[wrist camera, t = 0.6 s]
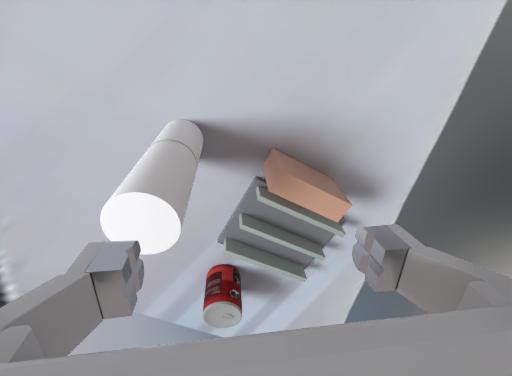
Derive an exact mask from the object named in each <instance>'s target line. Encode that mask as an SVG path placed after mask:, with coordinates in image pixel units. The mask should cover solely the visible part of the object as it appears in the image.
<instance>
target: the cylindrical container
mask: <svg viewBox="0 0 512 376" xmlns="http://www.w3.org/2000/svg"><path fill="white" fill-rule="evenodd" d="M203 142H204V140H203V135H202V132H201V130H200V129H199V128H198V127H197V126H196V125H195V124H194V123H192V122H190V121H188V120H184V119H178V120H174V121H171V122H170V123H168V124H167V125H166V126H165V128H164V129H163V130H162V131H161V133H160V134H159V135H158V137H157V138H156V139H155V141H154V142H153V143H152V144H151V146H150V147H149V148H148V150H147V151H146V152H145V154H144V155H143V156H142V157H141V159H140V160H139V161H138V163H137V164H136V165H135V167H134V168H133V169H132V170H131V172H130V173H129V174H128V176H127V177H126V178H125V180H124V181H123V182H122V183H121V185H120V186H119V187H118V189H117V190H116V191H115V193H114V194H113V195H112V196H111V198H110V199H109V200H108V202H107V203H106V204H105V206H104V207H103V209H102V211H101V216H100V223H101V227H102V230H103V231H104V233H105V235H106V236H107V237H108V239H109V240H110V241H134V240H137V241H138V242H139V244H140V249H141V252H140V254H155V253H160V252H162V251H165V250H167V249H168V248H170V247H171V246H172V245H173V244H175V242H176V241H177V240H178V238H179V235H180V232H181V228H182V225H183V221H184V217H185V213H186V209H187V205H188V201H189V197H190V194H191V190H192V186H193V182H194V178H195V174H196V170H197V167H198V163H199V159H200V155H201V151H202V147H203Z"/></svg>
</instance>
